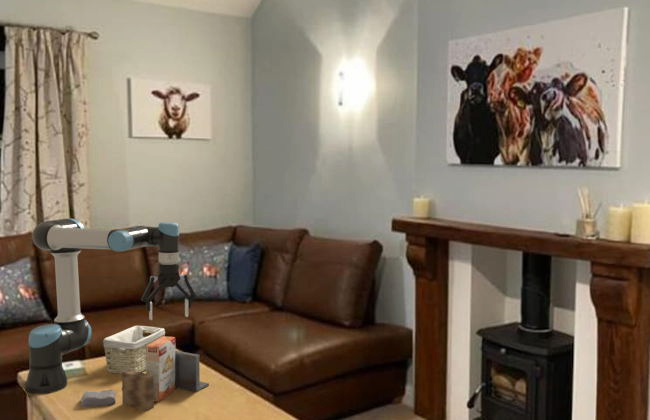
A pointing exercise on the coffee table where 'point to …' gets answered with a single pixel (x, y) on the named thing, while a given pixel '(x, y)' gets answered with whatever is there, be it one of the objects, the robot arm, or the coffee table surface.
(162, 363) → the cracker box
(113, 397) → the stone block
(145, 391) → the end block
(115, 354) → the storage basket
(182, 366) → the bookend
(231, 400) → the coffee table surface
